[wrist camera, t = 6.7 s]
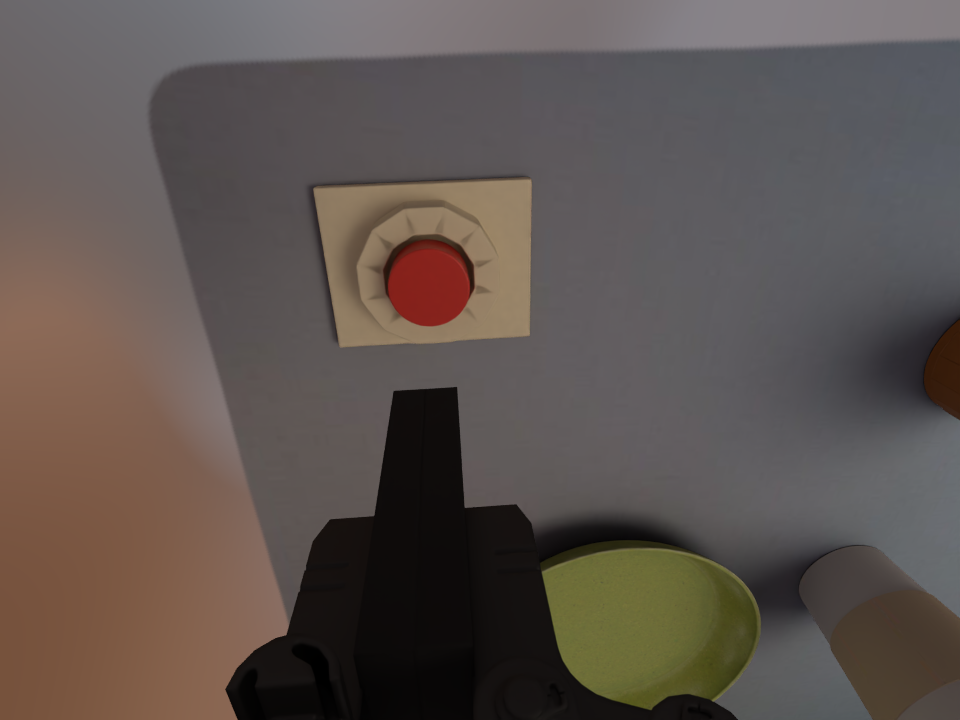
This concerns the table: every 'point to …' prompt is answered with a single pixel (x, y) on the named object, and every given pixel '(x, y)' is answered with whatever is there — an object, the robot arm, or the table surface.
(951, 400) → the brown bottle
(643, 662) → the green plate
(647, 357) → the table surface
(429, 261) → the power button
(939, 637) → the coffee cup
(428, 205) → the cream button plate
